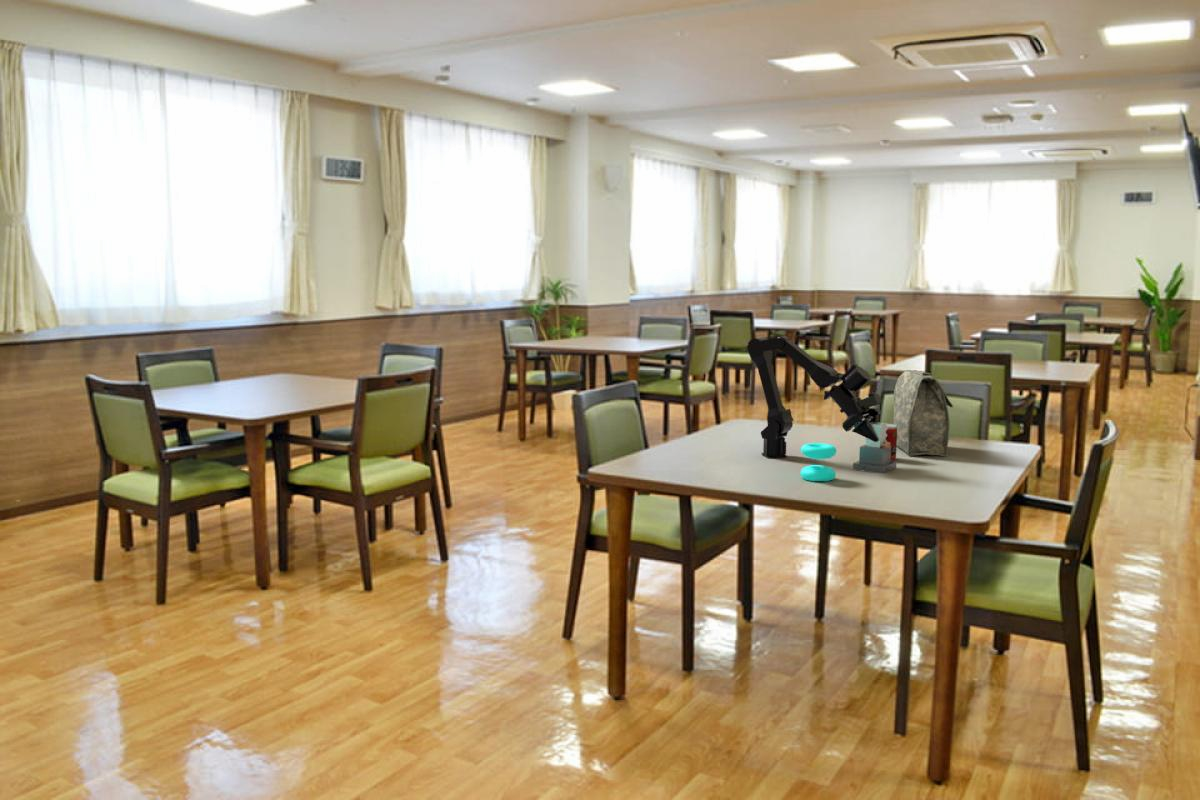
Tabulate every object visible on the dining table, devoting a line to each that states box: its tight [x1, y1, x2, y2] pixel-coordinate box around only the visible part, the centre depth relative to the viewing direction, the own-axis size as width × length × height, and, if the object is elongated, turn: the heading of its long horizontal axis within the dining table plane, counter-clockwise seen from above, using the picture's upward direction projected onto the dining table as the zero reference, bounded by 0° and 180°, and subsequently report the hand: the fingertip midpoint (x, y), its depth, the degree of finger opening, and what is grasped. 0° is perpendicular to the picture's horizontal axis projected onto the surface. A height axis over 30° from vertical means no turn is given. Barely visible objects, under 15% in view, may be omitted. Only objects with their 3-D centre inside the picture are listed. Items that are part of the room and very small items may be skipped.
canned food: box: [886, 423, 898, 461], centre depth 313 cm, size 8×8×11 cm
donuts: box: [800, 442, 837, 482], centre depth 283 cm, size 10×10×10 cm
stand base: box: [852, 442, 898, 474], centre depth 297 cm, size 10×10×8 cm
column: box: [865, 421, 887, 448], centre depth 297 cm, size 5×4×12 cm
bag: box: [892, 369, 954, 457], centre depth 326 cm, size 22×16×27 cm
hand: (880, 440), depth 296 cm, fingers closed on column, 4 cm apart
